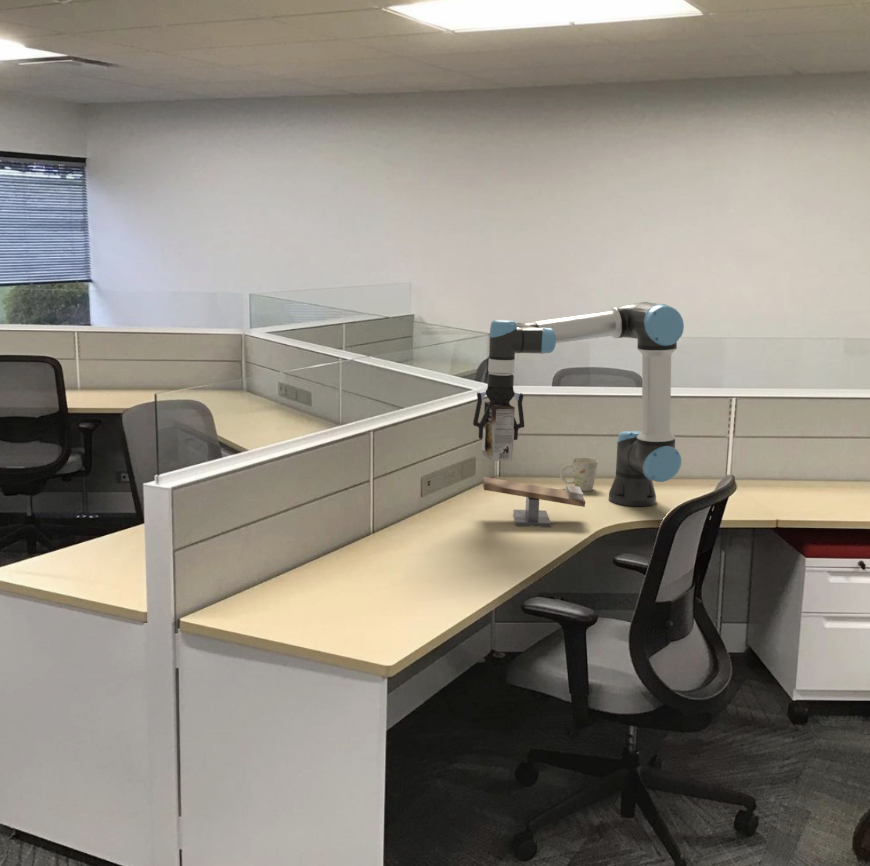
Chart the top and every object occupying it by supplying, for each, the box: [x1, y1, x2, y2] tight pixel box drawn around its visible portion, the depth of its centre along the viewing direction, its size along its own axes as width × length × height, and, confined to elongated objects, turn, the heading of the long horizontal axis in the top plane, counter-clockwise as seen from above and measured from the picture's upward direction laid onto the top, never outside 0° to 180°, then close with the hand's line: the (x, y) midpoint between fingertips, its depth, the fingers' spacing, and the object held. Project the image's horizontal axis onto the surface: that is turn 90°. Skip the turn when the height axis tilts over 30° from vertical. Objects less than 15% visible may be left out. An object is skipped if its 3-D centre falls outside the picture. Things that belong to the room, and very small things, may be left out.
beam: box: [482, 476, 586, 508], centre depth 299 cm, size 30×10×4 cm, turn 90°
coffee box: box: [482, 401, 516, 462], centre depth 296 cm, size 9×6×16 cm
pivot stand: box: [512, 497, 552, 528], centre depth 300 cm, size 10×14×8 cm
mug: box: [559, 457, 599, 492], centre depth 340 cm, size 8×13×10 cm, turn 89°
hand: (497, 449), depth 297 cm, fingers closed on coffee box, 8 cm apart
